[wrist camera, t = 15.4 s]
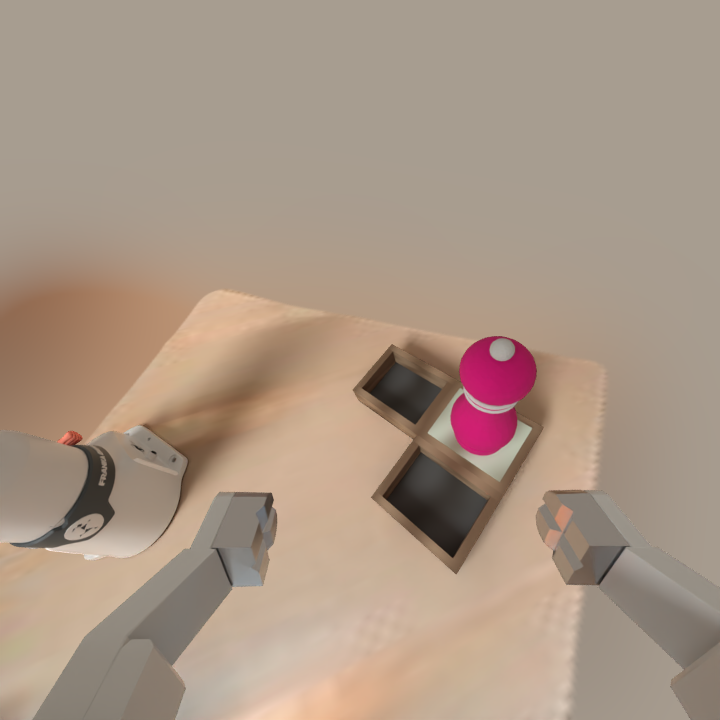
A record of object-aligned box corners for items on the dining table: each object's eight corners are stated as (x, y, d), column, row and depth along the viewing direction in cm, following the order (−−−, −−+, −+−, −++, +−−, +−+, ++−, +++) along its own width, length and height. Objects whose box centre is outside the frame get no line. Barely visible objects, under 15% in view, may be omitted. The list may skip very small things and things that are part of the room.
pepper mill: (475, 471, 37) (499, 405, 20) (438, 424, 41) (434, 336, 24) (523, 439, 37) (585, 350, 21) (482, 395, 41) (507, 292, 25)
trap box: (318, 448, 47) (308, 440, 44) (395, 357, 53) (391, 343, 49) (455, 572, 36) (456, 574, 32) (535, 437, 41) (544, 426, 38)
